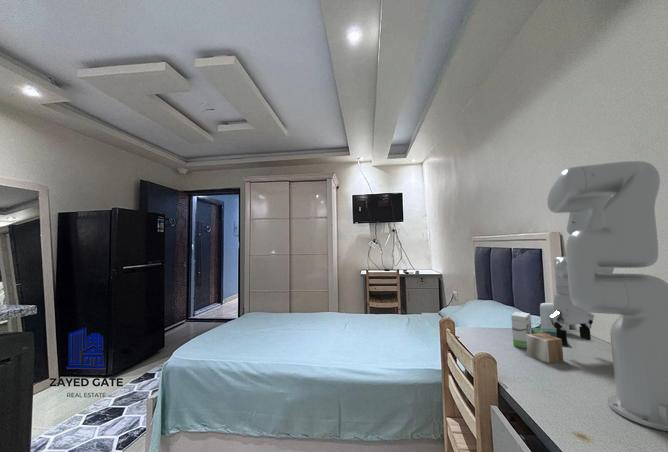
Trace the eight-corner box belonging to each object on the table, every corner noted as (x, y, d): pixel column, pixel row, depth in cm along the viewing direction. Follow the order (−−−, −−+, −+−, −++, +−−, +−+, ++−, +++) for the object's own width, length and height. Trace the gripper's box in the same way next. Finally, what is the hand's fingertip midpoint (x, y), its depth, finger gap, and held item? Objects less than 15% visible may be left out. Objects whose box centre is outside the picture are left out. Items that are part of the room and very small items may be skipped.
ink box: (528, 349, 101) (525, 317, 102) (512, 345, 105) (510, 314, 106) (532, 343, 107) (530, 313, 108) (518, 340, 111) (516, 311, 112)
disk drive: (568, 348, 103) (559, 336, 116) (568, 340, 104) (559, 329, 117) (535, 343, 108) (530, 332, 121) (535, 336, 109) (529, 326, 122)
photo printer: (571, 332, 119) (568, 304, 120) (568, 334, 117) (565, 305, 118) (543, 327, 128) (540, 300, 129) (539, 329, 125) (537, 302, 126)
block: (561, 339, 92) (545, 340, 90) (563, 360, 91) (547, 362, 89) (541, 332, 98) (526, 334, 97) (543, 352, 98) (527, 354, 96)
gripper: (579, 288, 103) (583, 335, 101) (539, 290, 100) (543, 338, 99) (601, 291, 95) (606, 341, 94) (559, 293, 93) (563, 345, 91)
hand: (573, 339), depth 96 cm, fingers open, 9 cm apart
